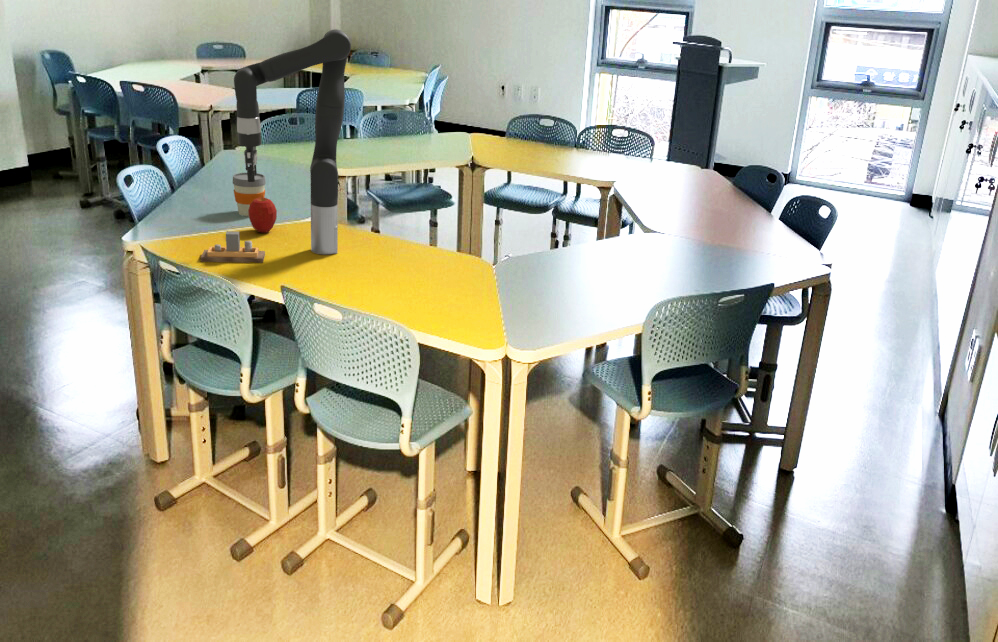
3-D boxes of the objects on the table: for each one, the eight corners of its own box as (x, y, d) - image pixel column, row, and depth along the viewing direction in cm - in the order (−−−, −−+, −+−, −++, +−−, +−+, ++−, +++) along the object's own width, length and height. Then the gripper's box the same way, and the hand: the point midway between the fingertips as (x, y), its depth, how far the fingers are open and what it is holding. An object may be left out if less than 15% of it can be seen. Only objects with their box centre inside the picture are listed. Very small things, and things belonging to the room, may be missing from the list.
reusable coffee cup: (258, 207, 346) (256, 171, 341) (272, 215, 338) (271, 178, 332) (228, 211, 339) (226, 174, 333) (242, 219, 330) (240, 181, 324)
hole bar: (258, 251, 292) (257, 230, 289) (257, 257, 287) (256, 236, 284) (210, 250, 289) (208, 229, 286) (207, 256, 284) (206, 234, 281)
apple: (246, 228, 320) (244, 192, 314) (273, 226, 324) (272, 191, 319) (252, 236, 311) (251, 199, 306) (280, 234, 316) (279, 198, 311)
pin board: (265, 255, 294) (264, 238, 292) (262, 262, 287) (262, 245, 284) (204, 253, 290) (203, 237, 288) (201, 261, 283) (199, 244, 281)
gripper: (239, 126, 287) (242, 173, 294) (235, 134, 274) (238, 183, 281) (262, 126, 289) (265, 173, 295) (259, 135, 276) (262, 184, 282)
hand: (252, 178), depth 288 cm, fingers open, 8 cm apart
